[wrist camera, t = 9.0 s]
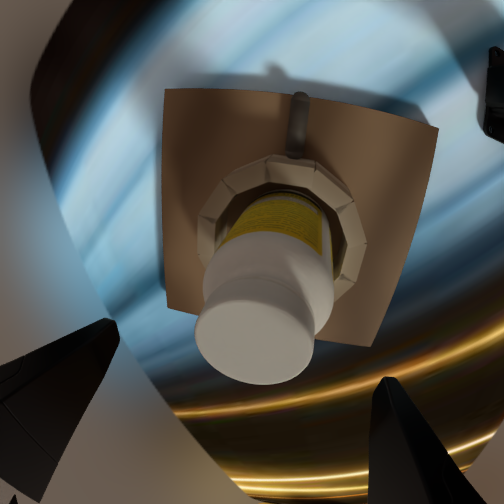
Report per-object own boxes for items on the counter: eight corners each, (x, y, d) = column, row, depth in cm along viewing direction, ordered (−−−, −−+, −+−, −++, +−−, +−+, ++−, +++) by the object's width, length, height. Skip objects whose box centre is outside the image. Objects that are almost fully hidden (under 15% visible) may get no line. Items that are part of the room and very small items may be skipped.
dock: (431, 123, 14) (458, 128, 11) (368, 336, 22) (373, 370, 18) (173, 86, 16) (143, 84, 13) (173, 299, 24) (153, 327, 20)
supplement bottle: (225, 210, 18) (144, 305, 9) (306, 172, 16) (294, 246, 7) (266, 281, 20) (226, 404, 11) (343, 252, 18) (357, 378, 9)
